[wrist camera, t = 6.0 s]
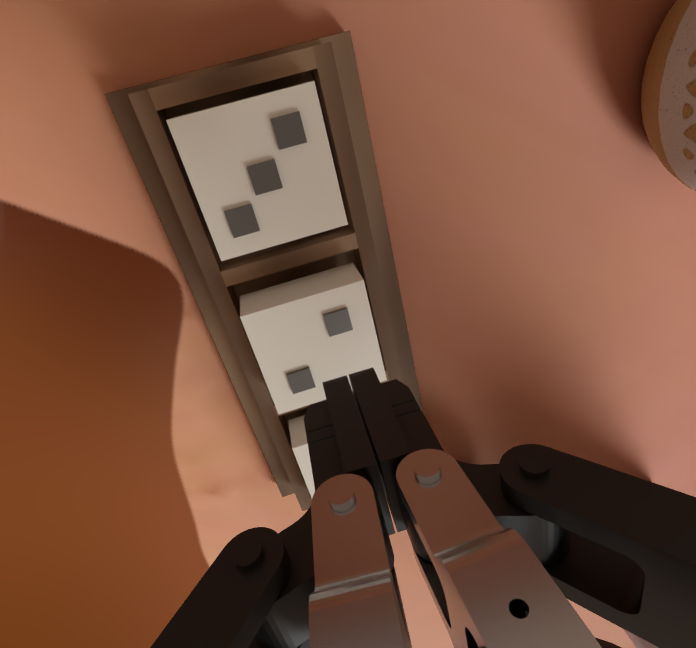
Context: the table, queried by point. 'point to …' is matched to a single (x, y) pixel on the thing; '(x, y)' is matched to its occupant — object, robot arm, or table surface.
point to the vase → (673, 93)
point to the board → (284, 259)
